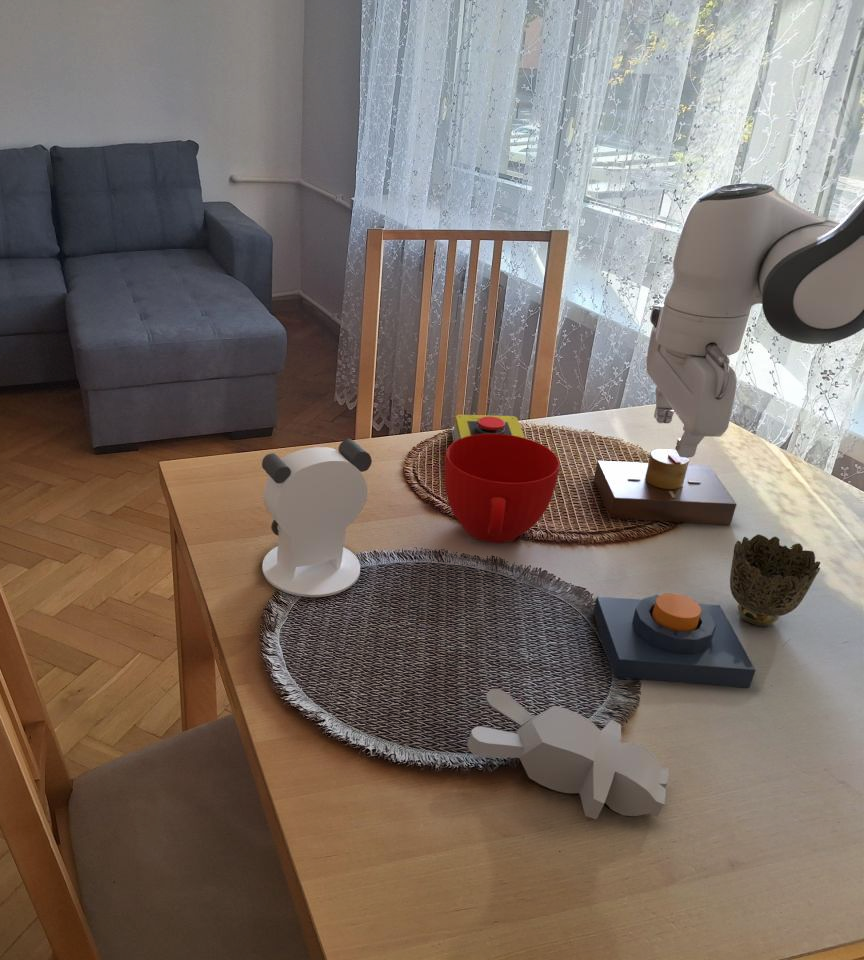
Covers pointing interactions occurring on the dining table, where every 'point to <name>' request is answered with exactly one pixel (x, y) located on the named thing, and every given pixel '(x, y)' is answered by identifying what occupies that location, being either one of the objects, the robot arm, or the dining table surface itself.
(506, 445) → the ceramic cup
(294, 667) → the dining table surface
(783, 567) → the cup
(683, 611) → the light button
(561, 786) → the bunny figurine
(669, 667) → the switch box
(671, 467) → the dimmer knob
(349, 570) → the panda figurine
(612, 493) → the dimmer panel
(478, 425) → the emergency button
